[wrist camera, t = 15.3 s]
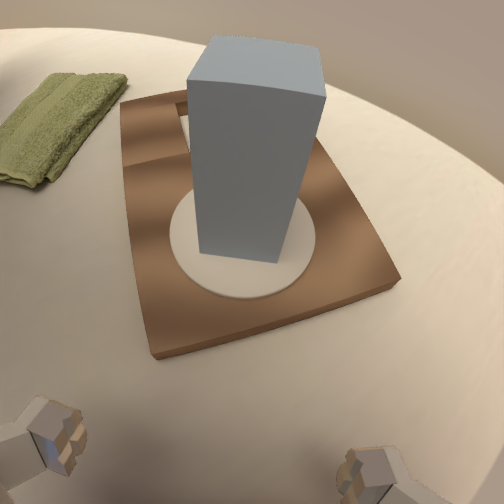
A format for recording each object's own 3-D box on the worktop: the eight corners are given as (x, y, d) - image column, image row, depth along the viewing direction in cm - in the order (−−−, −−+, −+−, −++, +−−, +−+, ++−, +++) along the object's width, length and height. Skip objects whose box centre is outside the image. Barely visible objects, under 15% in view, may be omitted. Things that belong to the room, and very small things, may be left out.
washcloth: (-28, 182, 23) (-41, 162, 21) (58, 86, 32) (53, 67, 30) (47, 201, 23) (33, 175, 20) (138, 88, 32) (135, 65, 29)
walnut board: (122, 115, 28) (120, 102, 27) (271, 92, 32) (273, 80, 31) (156, 360, 17) (151, 354, 16) (390, 288, 21) (401, 278, 19)
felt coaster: (160, 195, 21) (159, 189, 21) (282, 171, 23) (283, 165, 23) (188, 317, 17) (187, 314, 17) (335, 276, 19) (338, 272, 19)
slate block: (199, 253, 18) (186, 79, 9) (213, 194, 21) (214, 34, 11) (276, 263, 19) (326, 96, 9) (281, 203, 21) (318, 47, 11)
